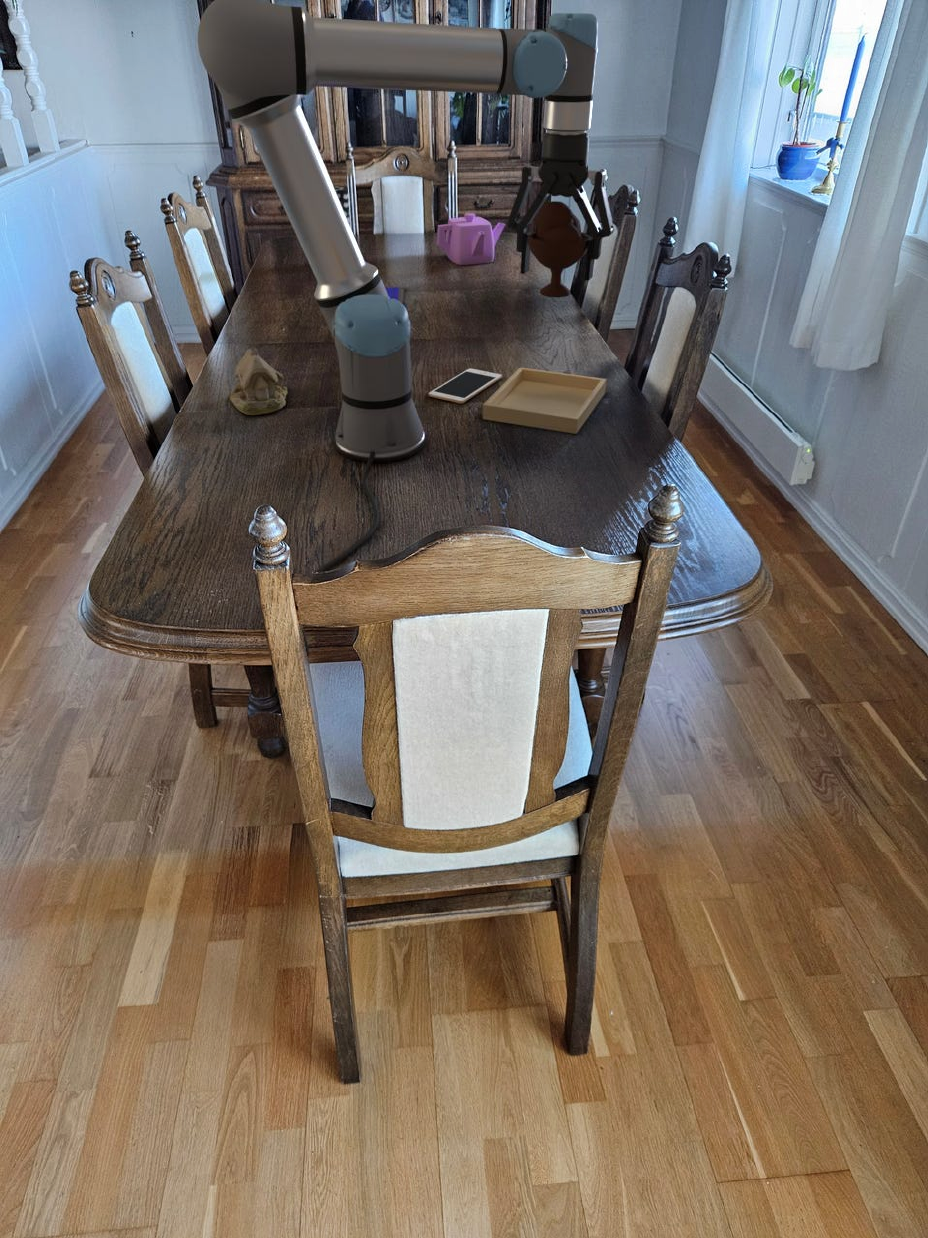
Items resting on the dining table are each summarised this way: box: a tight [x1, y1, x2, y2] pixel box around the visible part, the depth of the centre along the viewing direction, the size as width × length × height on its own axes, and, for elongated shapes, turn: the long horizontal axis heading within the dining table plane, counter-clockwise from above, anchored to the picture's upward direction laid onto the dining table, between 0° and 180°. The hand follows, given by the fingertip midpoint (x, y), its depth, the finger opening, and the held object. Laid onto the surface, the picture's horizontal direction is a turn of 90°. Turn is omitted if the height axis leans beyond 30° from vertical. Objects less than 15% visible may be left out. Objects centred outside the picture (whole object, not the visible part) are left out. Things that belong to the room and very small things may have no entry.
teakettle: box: [436, 212, 506, 266], centre depth 244 cm, size 17×17×12 cm
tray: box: [482, 366, 608, 435], centre depth 156 cm, size 21×18×3 cm
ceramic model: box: [229, 347, 288, 416], centre depth 156 cm, size 14×11×10 cm
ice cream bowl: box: [527, 200, 592, 299], centre depth 143 cm, size 11×11×15 cm
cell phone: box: [428, 367, 503, 404], centre depth 164 cm, size 8×16×1 cm, turn 149°
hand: (556, 275), depth 146 cm, fingers closed on ice cream bowl, 11 cm apart
